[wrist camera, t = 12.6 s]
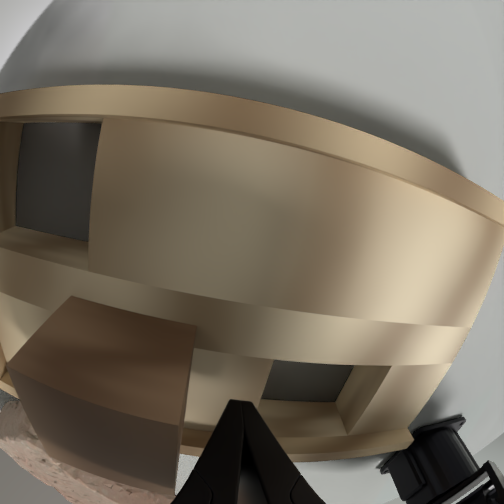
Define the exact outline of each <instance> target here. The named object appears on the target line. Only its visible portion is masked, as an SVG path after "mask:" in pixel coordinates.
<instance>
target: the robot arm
mask: <svg viewBox="0 0 504 504" xmlns="http://www.w3.org/2000/svg"><path fill="white" fill-rule="evenodd" d="M465 422H466V419H465V418H464V417H461V418H457V419H454V420H450V421H447V422H443V423H439V424H435V425H430V426H426V427H422V428H419V429H418V430H416V431H415V432H414V433H413V434H412V437H413V439H414V441H413V442H412V443H411V444H410V445H409V447H408V448H407V449H402V450H398V451H397V453H396V454H395V455H394V456H393V457H392V458H391V459H390V460H389V461H388V462H387V463H386V464H385V465H384V466H383V467H382V468H381V469H380V472H381V474H386V473H390V474H391V476H392V479H393V481H394V483H395V486H396V488H397V491H398V493H399V495H400V498H401V500H402V501H406V503H407V504H451V503H453V502H454V501H456V500H457V499H458V498H460V497H461V496H463V495H464V494H466V493H467V492H468V491H470V490H471V489H472V488H474V487H475V486H476V485H478V484H479V483H480V482H482V481H483V480H484V479H485V478H486V477H488V476H489V478H490V480H489V481H488V482H486V483H485V484H483V485H481V486H480V487H479V488H477V489H476V490H475V491H473V492H472V493H470V494H469V495H468V496H466V497H465V498H464V499H462V500H461V501H459V502H458V503H456V504H504V476H503V475H502V473H501V472H500V470H499V469H498V467H497V466H496V464H495V463H494V462H491V461H489V460H488V461H487V462H486V463H484V464H483V466H482V467H481V468H479V466H478V465H477V463H476V461H475V460H474V458H473V457H472V455H471V453H470V452H469V450H468V449H467V447H466V445H465V444H464V442H463V441H462V439H461V438H460V436H459V435H458V433H457V431H458V430H459V429H460V428H461V427H462V425H463V424H464V423H465ZM170 504H326V503H325V502H324V501H323V500H322V499H321V498H320V497H319V496H318V495H317V494H316V493H315V491H314V490H313V489H312V488H311V487H310V485H309V484H308V483H307V481H306V480H305V479H304V477H303V476H302V475H301V473H300V472H299V471H298V469H297V468H296V466H295V465H294V464H293V462H292V461H291V459H290V458H289V457H288V455H287V454H286V452H285V451H284V449H283V448H282V447H281V445H280V444H279V442H278V441H277V439H276V438H275V436H274V435H273V433H272V432H271V430H270V429H269V427H268V426H267V424H266V423H265V421H264V420H263V418H262V417H261V415H260V413H259V412H258V410H257V409H256V407H255V406H254V404H253V403H252V402H251V401H244V400H235V399H230V400H229V401H228V403H227V405H226V407H225V409H224V411H223V413H222V415H221V417H220V419H219V421H218V423H217V425H216V427H215V429H214V431H213V432H212V434H211V436H210V438H209V440H208V442H207V444H206V446H205V448H204V450H203V452H202V454H201V455H200V457H199V459H198V461H197V463H196V465H195V467H194V469H193V470H192V472H191V474H190V476H189V477H188V479H187V481H186V482H185V484H184V486H183V487H182V489H181V490H180V492H179V493H178V494H177V496H176V497H175V498H174V500H173V501H172V502H171V503H170Z"/></svg>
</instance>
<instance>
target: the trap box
mask: <svg viewBox="0 0 504 504" xmlns="http://www.w3.org/2000/svg"><path fill="white" fill-rule="evenodd" d="M42 122H68V123H98V124H102V127H101V132H100V137H99V143H98V149H97V155H96V162H95V169H94V177H93V186H92V196H91V207H90V222H89V242H86V241H81V240H77V239H72V238H67V237H63V236H58V235H54V234H49V233H45V232H40V231H36V230H31V229H27V228H23V227H18V226H16V218H15V212H16V182H17V169H18V159H19V150H20V143H21V136H22V130H23V124H24V123H42ZM503 246H504V201H503V200H501V199H500V198H498V197H497V196H495V195H493V194H492V193H490V192H489V191H487V190H485V189H484V188H482V187H480V186H479V185H477V184H475V183H473V182H472V181H470V180H468V179H466V178H464V177H463V176H461V175H459V174H457V173H455V172H453V171H451V170H450V169H448V168H446V167H444V166H442V165H440V164H438V163H436V162H434V161H432V160H430V159H427V158H425V157H423V156H421V155H419V154H417V153H414V152H412V151H410V150H408V149H405V148H403V147H401V146H398V145H396V144H394V143H391V142H389V141H386V140H384V139H381V138H379V137H376V136H374V135H371V134H368V133H366V132H363V131H360V130H357V129H354V128H352V127H349V126H346V125H343V124H340V123H337V122H334V121H330V120H327V119H324V118H321V117H317V116H314V115H310V114H307V113H303V112H300V111H296V110H292V109H288V108H284V107H280V106H276V105H272V104H268V103H263V102H259V101H254V100H249V99H244V98H239V97H233V96H228V95H222V94H215V93H209V92H202V91H194V90H186V89H177V88H167V87H155V86H139V85H70V86H55V87H44V88H34V89H26V90H19V91H12V92H6V93H1V94H0V389H2V390H4V391H5V392H7V393H9V394H11V395H12V396H14V397H16V398H18V395H17V393H16V390H15V388H14V386H13V383H12V381H11V378H10V375H9V373H8V370H7V367H6V364H7V363H8V362H9V361H10V360H11V359H12V357H13V356H14V355H15V354H16V353H17V352H18V351H19V349H20V348H21V347H22V346H23V345H24V344H25V343H26V342H27V340H28V339H29V338H30V337H31V336H32V335H33V334H34V333H35V332H36V331H37V330H38V329H39V328H40V326H41V325H42V324H43V323H44V322H45V321H46V320H47V319H48V318H49V317H50V316H51V315H52V314H53V313H54V312H55V311H56V310H57V309H58V308H59V307H60V306H61V305H62V304H63V303H64V302H65V301H66V300H67V299H68V298H69V297H70V296H75V297H78V298H82V299H85V300H89V301H92V302H96V303H100V304H104V305H107V306H111V307H115V308H119V309H123V310H127V311H131V312H135V313H139V314H144V315H148V316H153V317H157V318H162V319H166V320H171V321H176V322H181V323H186V324H191V325H196V326H197V330H196V337H195V344H194V351H193V358H192V365H191V373H190V380H189V388H188V396H187V404H186V413H185V420H184V426H183V433H182V440H181V447H180V454H185V455H192V456H198V457H200V455H201V454H202V452H203V450H204V448H205V446H206V444H207V442H208V440H209V438H210V436H211V434H212V432H213V431H214V429H215V427H216V425H217V423H218V421H219V419H220V417H221V415H222V413H223V411H224V409H225V407H226V405H227V403H228V401H229V400H230V399H235V400H244V401H251V402H252V403H253V404H254V406H255V407H256V409H257V410H258V412H259V413H260V415H261V417H262V418H263V420H264V421H265V423H266V424H267V426H268V427H269V429H270V430H271V432H272V433H273V435H274V436H275V438H276V439H277V441H278V442H279V444H280V445H281V447H282V448H283V449H284V451H285V452H286V454H287V455H288V457H289V458H290V459H291V461H292V462H314V461H329V460H340V459H349V458H357V457H364V456H370V455H377V454H382V453H388V452H393V451H398V450H402V449H407V448H408V447H409V445H410V444H411V443H412V442H413V441H414V439H413V437H412V435H411V433H410V431H409V430H408V427H409V425H410V424H411V423H412V421H413V420H414V419H415V418H416V416H417V415H418V414H419V412H420V411H421V410H422V408H423V407H424V405H425V404H426V403H427V401H428V400H429V398H430V397H431V395H432V394H433V392H434V391H435V389H436V388H437V386H438V385H439V383H440V382H441V380H442V379H443V377H444V376H445V374H446V372H447V371H448V369H449V367H450V366H451V364H452V362H453V361H454V359H455V357H456V355H457V354H458V352H459V350H460V348H461V346H462V344H463V343H464V341H465V339H466V337H467V335H468V333H469V331H470V329H471V327H472V325H473V323H474V321H475V319H476V316H477V314H478V312H479V310H480V308H481V305H482V303H483V301H484V298H485V296H486V294H487V291H488V289H489V286H490V283H491V281H492V278H493V276H494V273H495V270H496V267H497V264H498V261H499V258H500V255H501V252H502V249H503ZM274 360H284V361H295V362H307V363H321V364H340V365H354V367H353V369H352V371H351V373H350V375H349V377H348V379H347V381H346V383H345V385H344V387H343V388H342V390H341V392H340V394H339V396H338V398H337V399H336V401H335V402H302V401H281V400H267V399H261V397H262V394H263V391H264V388H265V385H266V382H267V380H268V377H269V374H270V371H271V368H272V365H273V362H274ZM18 399H19V398H18Z"/></svg>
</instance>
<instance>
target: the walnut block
mask: <svg viewBox="0 0 504 504" xmlns="http://www.w3.org/2000/svg"><path fill="white" fill-rule="evenodd" d="M196 330H197V326H196V325H191V324H186V323H181V322H176V321H171V320H166V319H162V318H157V317H153V316H148V315H144V314H139V313H135V312H131V311H127V310H123V309H119V308H115V307H111V306H107V305H104V304H100V303H96V302H92V301H89V300H85V299H82V298H78V297H75V296H70V297H69V298H68V299H67V300H66V301H65V302H64V303H63V304H62V305H61V306H60V307H59V308H58V309H57V310H56V311H55V312H54V313H53V314H52V315H51V316H50V317H49V318H48V319H47V320H46V321H45V322H44V323H43V324H42V325H41V326H40V328H39V329H38V330H37V331H36V332H35V333H34V334H33V335H32V336H31V337H30V338H29V339H28V340H27V342H26V343H25V344H24V345H23V346H22V347H21V348H20V349H19V351H18V352H17V353H16V354H15V355H14V356H13V357H12V359H11V360H10V361H9V362H8V363H7V364H6V367H7V370H8V373H9V375H10V378H11V381H12V383H13V386H14V388H15V390H16V393H17V395H18V398H19V400H20V402H21V404H22V406H23V409H24V411H25V413H26V415H27V417H28V419H29V421H30V423H31V425H32V427H33V429H34V431H35V432H36V434H37V436H38V438H39V440H40V441H41V443H42V445H43V447H44V448H45V450H46V452H47V453H48V455H49V456H50V457H52V458H54V459H56V460H58V461H61V462H63V463H65V464H68V465H70V466H72V467H75V468H77V469H80V470H82V471H85V472H88V473H90V474H93V475H96V476H99V477H102V478H105V479H108V480H111V481H114V482H118V483H121V484H124V485H128V486H132V487H135V488H139V489H143V490H148V491H152V492H157V493H161V494H166V495H172V496H174V494H175V486H176V478H177V470H178V462H179V454H180V447H181V440H182V433H183V426H184V420H185V413H186V404H187V396H188V388H189V380H190V373H191V365H192V358H193V351H194V344H195V337H196Z"/></svg>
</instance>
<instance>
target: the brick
mask: <svg viewBox="0 0 504 504" xmlns="http://www.w3.org/2000/svg"><path fill="white" fill-rule="evenodd" d="M0 448H1V449H3V450H4V451H5V452H6V453H7V454H8V455H9V456H11V457H12V458H13V459H14V460H15V461H16V463H17V464H19V465H20V466H21V467H22V468H23V469H26V470H27V471H28V472H29V473H31V474H32V475H33V476H34V477H36V478H38V479H40V480H41V481H42V482H44V483H45V484H46V485H49V486H53V487H54V488H55V489H56V490H57V491H58V492H59V493H61V494H62V495H63V496H64V497H65V498H66V499H67V500H68V501H70V502H71V503H73V504H170V503H171V502H172V501H173V500H174V498H175V497H176V496H175V495H174V496H172V495H166V494H161V493H157V492H152V491H148V490H143V489H139V488H135V487H132V486H128V485H124V484H121V483H118V482H114V481H111V480H108V479H105V478H102V477H99V476H96V475H93V474H90V473H88V472H85V471H82V470H80V469H77V468H75V467H72V466H70V465H68V464H65V463H63V462H61V461H58V460H56V459H54V458H52V457H50V456H49V455H48V453H47V452H46V450H45V448H44V447H43V445H42V443H41V441H40V440H39V438H38V436H37V434H36V432H35V431H34V429H33V427H32V425H31V423H30V421H29V419H28V417H27V415H26V413H25V411H24V409H23V406H22V404H21V402H20V401H9V402H7V403H5V405H4V406H3V408H2V409H1V412H0Z"/></svg>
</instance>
